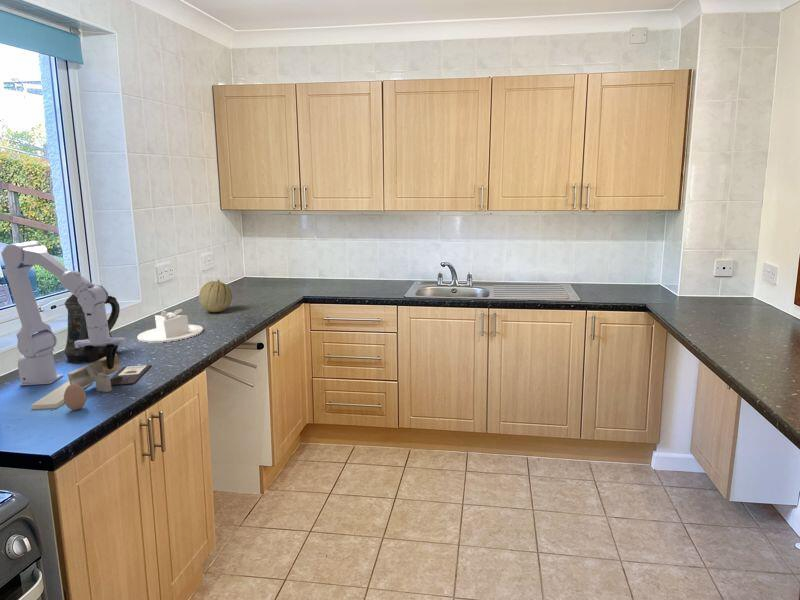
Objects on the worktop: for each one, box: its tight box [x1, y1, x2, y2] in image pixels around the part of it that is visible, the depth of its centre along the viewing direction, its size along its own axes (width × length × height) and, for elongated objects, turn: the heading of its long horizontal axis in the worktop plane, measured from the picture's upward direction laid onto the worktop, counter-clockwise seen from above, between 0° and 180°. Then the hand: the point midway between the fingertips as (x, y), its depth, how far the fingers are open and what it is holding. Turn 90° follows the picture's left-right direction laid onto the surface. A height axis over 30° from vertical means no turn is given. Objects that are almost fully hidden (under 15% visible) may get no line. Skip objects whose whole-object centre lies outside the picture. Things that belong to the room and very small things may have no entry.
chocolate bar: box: [110, 364, 152, 387], centre depth 185 cm, size 9×1×18 cm
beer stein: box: [64, 292, 121, 364], centre depth 209 cm, size 16×19×25 cm
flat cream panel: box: [30, 380, 93, 410], centre depth 170 cm, size 7×20×1 cm, turn 2°
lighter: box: [84, 363, 113, 393], centre depth 172 cm, size 7×2×8 cm, turn 75°
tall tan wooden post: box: [67, 353, 121, 387], centre depth 176 cm, size 2×16×5 cm, turn 157°
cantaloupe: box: [198, 279, 233, 313], centre depth 272 cm, size 15×15×15 cm
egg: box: [64, 384, 87, 411], centre depth 158 cm, size 5×5×7 cm
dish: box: [136, 308, 204, 344], centre depth 234 cm, size 25×25×11 cm
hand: (104, 368), depth 179 cm, fingers closed on tall tan wooden post, 3 cm apart
